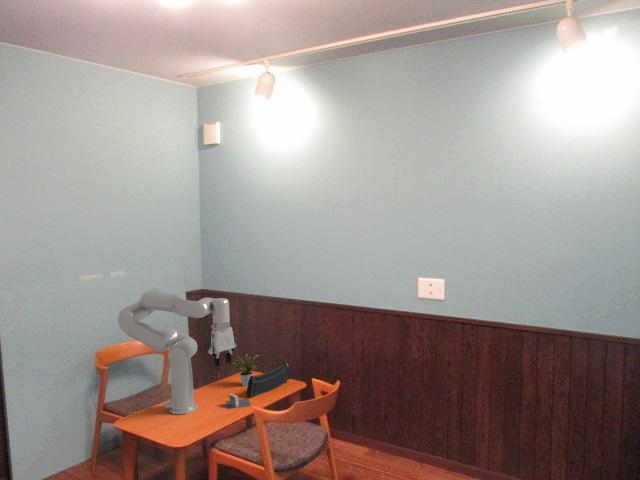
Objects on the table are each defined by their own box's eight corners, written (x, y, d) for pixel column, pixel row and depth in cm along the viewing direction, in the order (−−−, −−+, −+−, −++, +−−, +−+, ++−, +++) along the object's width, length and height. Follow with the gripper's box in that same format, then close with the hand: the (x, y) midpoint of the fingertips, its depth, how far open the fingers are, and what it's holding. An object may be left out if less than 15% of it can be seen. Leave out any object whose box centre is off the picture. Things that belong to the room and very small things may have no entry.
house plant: (253, 377, 269) (251, 348, 268) (267, 384, 259) (265, 353, 258) (230, 384, 260) (228, 353, 259) (243, 391, 250) (242, 359, 249)
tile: (235, 407, 228) (235, 397, 228) (229, 404, 232) (228, 394, 231) (238, 406, 229) (238, 396, 229) (232, 403, 233) (232, 393, 232)
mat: (227, 409, 226) (227, 409, 226) (225, 401, 236) (225, 401, 236) (251, 406, 229) (250, 406, 229) (248, 398, 239) (248, 398, 239)
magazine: (246, 382, 236) (286, 350, 258) (241, 381, 238) (281, 349, 260) (255, 412, 241) (293, 378, 263) (250, 410, 243) (288, 377, 265)
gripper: (209, 330, 216) (211, 370, 217) (241, 323, 228) (243, 361, 229) (200, 327, 221) (202, 367, 222) (232, 321, 233) (233, 358, 234)
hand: (223, 364), depth 226 cm, fingers open, 5 cm apart
